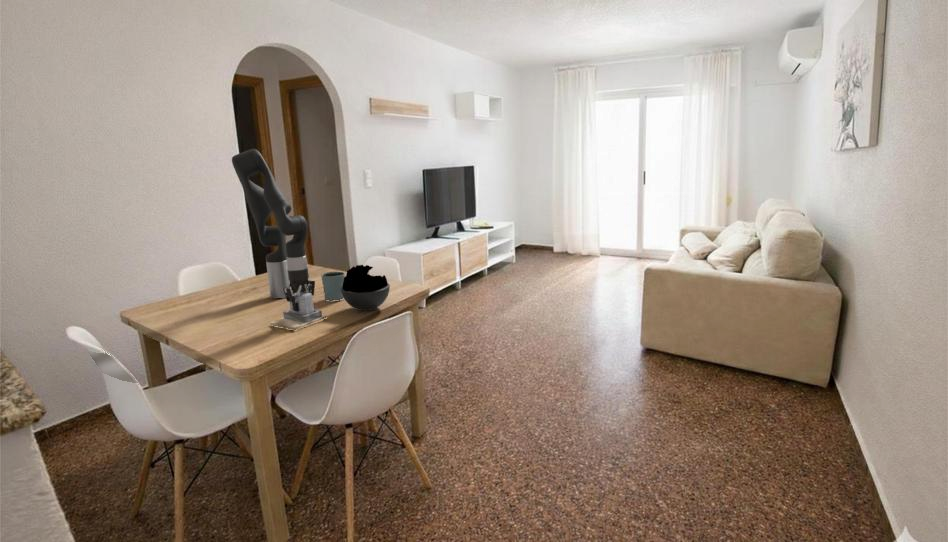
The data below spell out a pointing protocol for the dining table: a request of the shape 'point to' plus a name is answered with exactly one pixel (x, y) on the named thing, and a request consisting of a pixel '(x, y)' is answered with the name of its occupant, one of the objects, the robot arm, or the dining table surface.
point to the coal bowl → (364, 288)
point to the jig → (297, 319)
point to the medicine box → (304, 304)
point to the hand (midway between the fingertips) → (302, 309)
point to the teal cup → (333, 285)
